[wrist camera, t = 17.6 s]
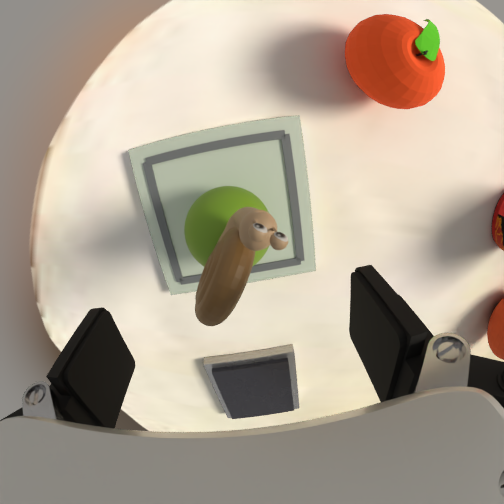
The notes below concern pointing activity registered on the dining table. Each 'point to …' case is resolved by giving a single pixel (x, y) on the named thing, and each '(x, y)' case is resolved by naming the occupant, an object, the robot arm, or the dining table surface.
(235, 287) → the snail figurine
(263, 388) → the ink pad
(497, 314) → the tomato
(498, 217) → the canned food
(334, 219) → the dining table surface
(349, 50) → the clementine
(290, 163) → the board
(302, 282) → the dining table surface
